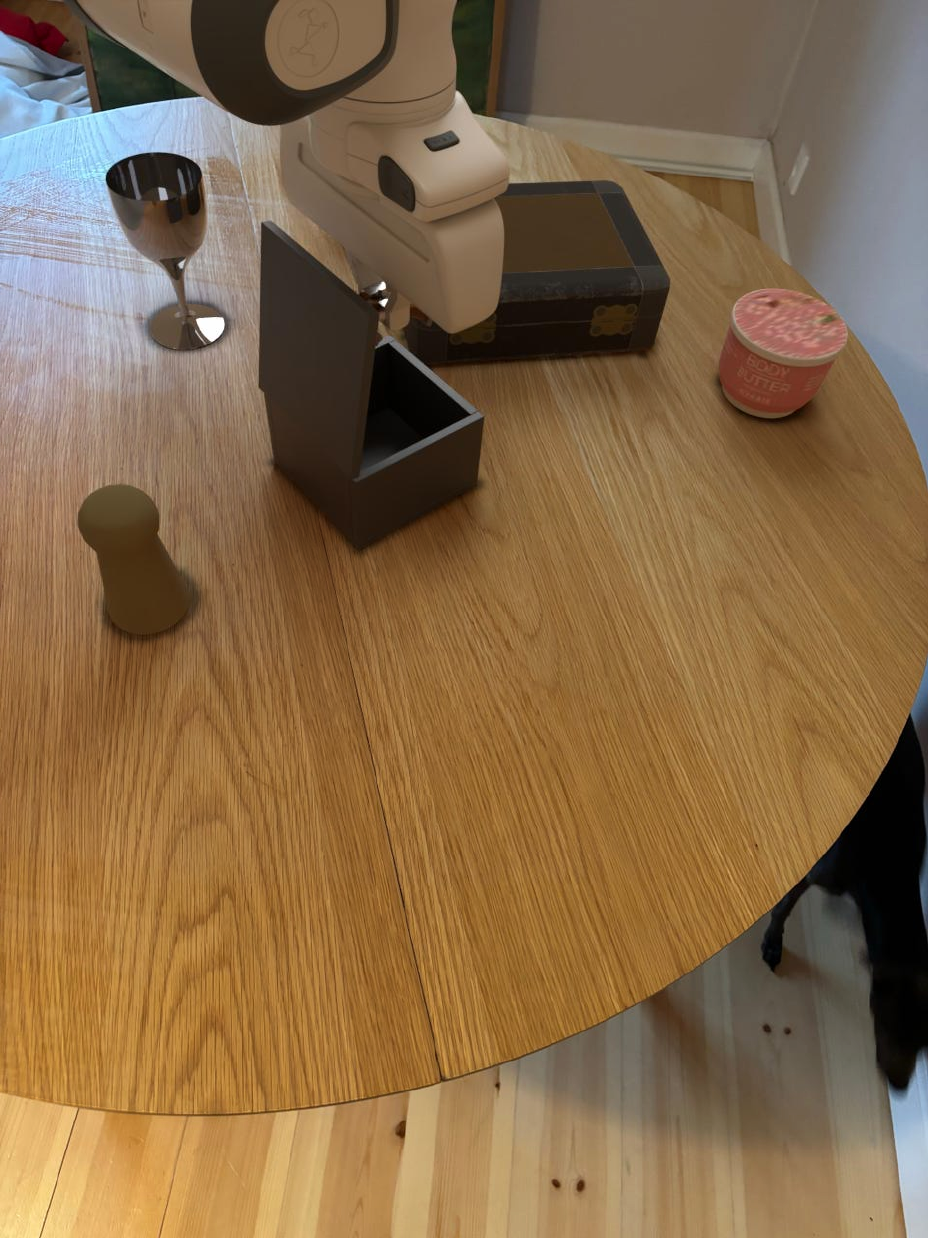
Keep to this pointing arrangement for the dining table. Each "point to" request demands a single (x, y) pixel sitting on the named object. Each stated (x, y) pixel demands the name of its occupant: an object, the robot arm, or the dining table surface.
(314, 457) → the box
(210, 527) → the dining table surface
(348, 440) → the lid
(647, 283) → the jewelry box
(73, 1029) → the dining table surface
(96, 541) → the pepper shaker
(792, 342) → the container
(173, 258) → the wine glass
